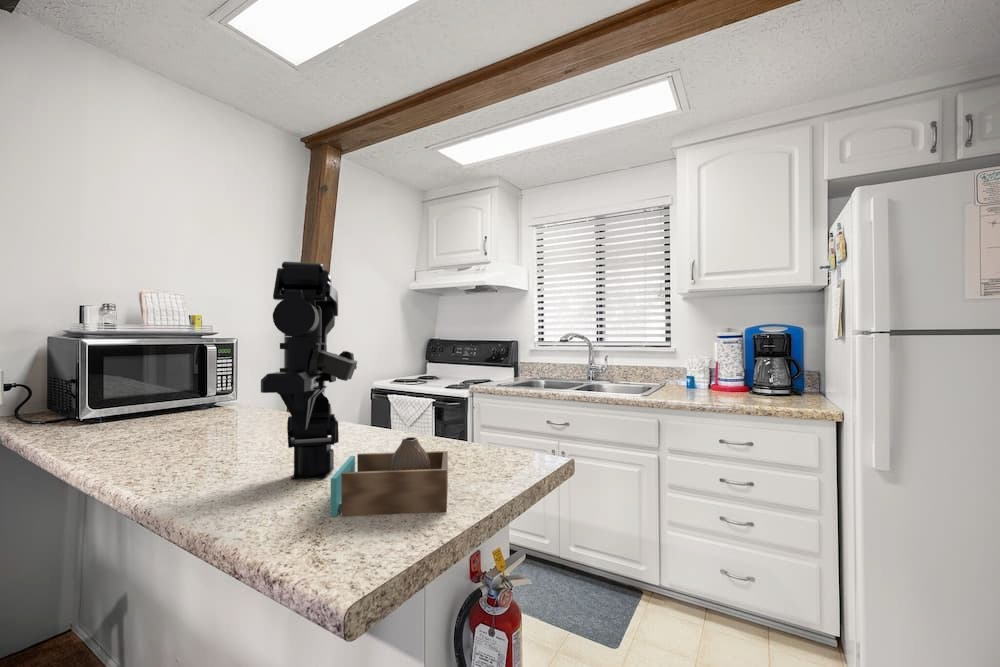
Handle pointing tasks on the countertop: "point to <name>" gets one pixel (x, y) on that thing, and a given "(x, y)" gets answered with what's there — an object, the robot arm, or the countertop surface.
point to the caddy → (394, 487)
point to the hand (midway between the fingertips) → (302, 429)
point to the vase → (409, 456)
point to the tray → (339, 485)
